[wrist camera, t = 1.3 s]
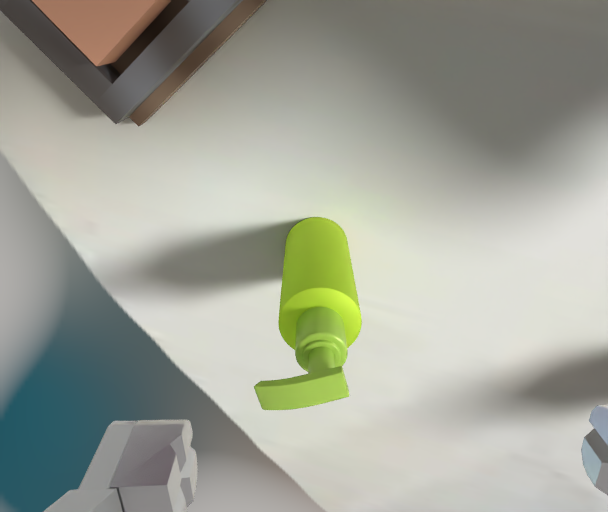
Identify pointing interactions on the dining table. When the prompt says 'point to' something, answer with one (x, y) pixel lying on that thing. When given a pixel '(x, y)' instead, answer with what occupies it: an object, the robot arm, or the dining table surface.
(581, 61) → the dining table surface
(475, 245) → the dining table surface
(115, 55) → the terracotta key
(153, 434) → the robot arm
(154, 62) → the compartment tray
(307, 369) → the soap dispenser
